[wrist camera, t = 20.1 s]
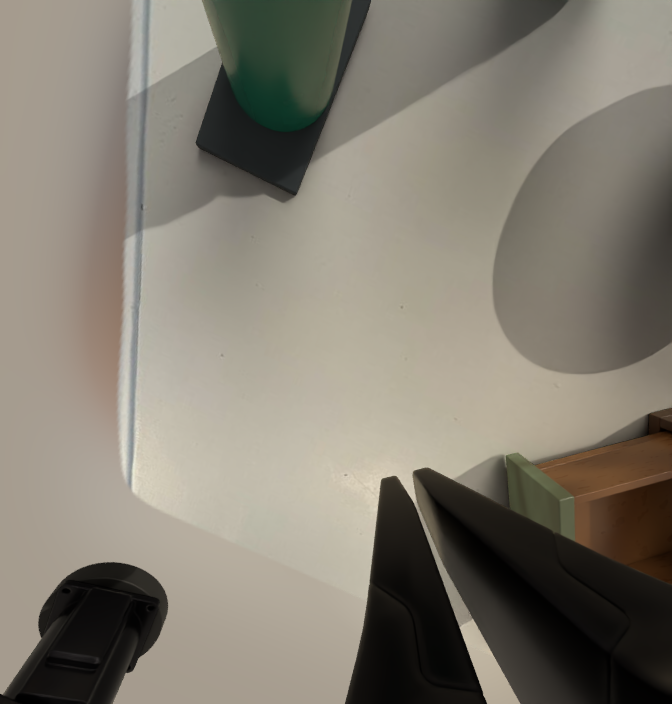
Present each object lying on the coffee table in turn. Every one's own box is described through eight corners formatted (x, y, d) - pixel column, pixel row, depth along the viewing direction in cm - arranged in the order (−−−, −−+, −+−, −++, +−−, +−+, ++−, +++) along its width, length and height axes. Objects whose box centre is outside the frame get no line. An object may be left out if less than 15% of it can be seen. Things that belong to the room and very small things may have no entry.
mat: (295, 196, 19) (296, 193, 18) (198, 147, 18) (194, 143, 17) (369, 8, 17) (371, -1, 17) (266, -59, 16) (265, -71, 15)
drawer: (500, 604, 27) (545, 676, 22) (486, 459, 24) (536, 507, 19) (684, 549, 28) (765, 606, 23) (695, 405, 25) (792, 436, 20)
